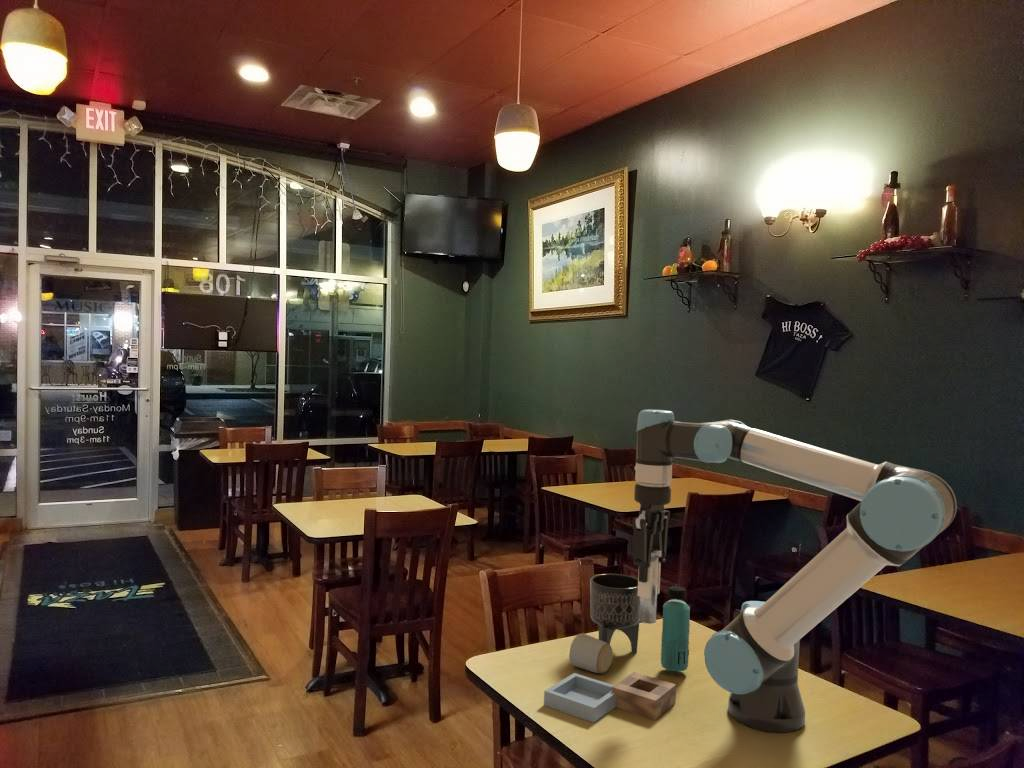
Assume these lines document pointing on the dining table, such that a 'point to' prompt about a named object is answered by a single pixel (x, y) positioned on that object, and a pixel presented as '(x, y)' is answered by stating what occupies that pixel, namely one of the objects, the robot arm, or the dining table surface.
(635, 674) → the block
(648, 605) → the pin
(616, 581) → the planter
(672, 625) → the beverage bottle
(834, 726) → the dining table surface
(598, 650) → the ceramic mug
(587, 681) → the tray
